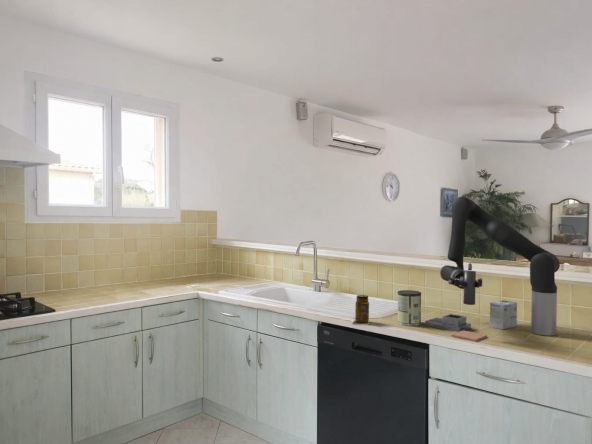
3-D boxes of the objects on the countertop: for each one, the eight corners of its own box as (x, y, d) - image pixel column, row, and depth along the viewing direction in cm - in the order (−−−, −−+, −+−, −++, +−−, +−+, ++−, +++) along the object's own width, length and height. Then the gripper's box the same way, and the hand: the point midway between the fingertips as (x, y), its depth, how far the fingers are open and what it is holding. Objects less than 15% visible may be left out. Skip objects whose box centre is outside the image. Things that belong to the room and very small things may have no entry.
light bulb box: (503, 323, 206) (503, 299, 206) (517, 326, 200) (517, 302, 200) (488, 326, 200) (489, 302, 200) (503, 329, 194) (503, 304, 194)
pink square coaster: (463, 332, 189) (463, 330, 189) (487, 337, 182) (487, 335, 182) (451, 336, 183) (451, 334, 183) (475, 341, 175) (475, 339, 175)
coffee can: (404, 319, 212) (404, 289, 212) (424, 323, 205) (425, 291, 205) (392, 323, 204) (393, 291, 204) (413, 327, 198) (414, 294, 197)
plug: (466, 302, 185) (467, 262, 185) (477, 303, 182) (477, 263, 182) (461, 303, 182) (462, 263, 182) (472, 305, 179) (472, 264, 179)
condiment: (370, 321, 209) (370, 294, 209) (368, 325, 200) (369, 298, 200) (354, 320, 210) (354, 294, 210) (352, 324, 202) (352, 297, 202)
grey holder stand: (436, 321, 208) (437, 310, 208) (470, 328, 196) (471, 316, 196) (425, 325, 201) (425, 313, 201) (459, 332, 190) (459, 320, 189)
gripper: (444, 269, 197) (453, 274, 180) (478, 270, 196) (490, 275, 179) (443, 286, 197) (452, 293, 180) (478, 287, 196) (490, 295, 179)
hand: (471, 284), depth 180 cm, fingers closed on plug, 4 cm apart
